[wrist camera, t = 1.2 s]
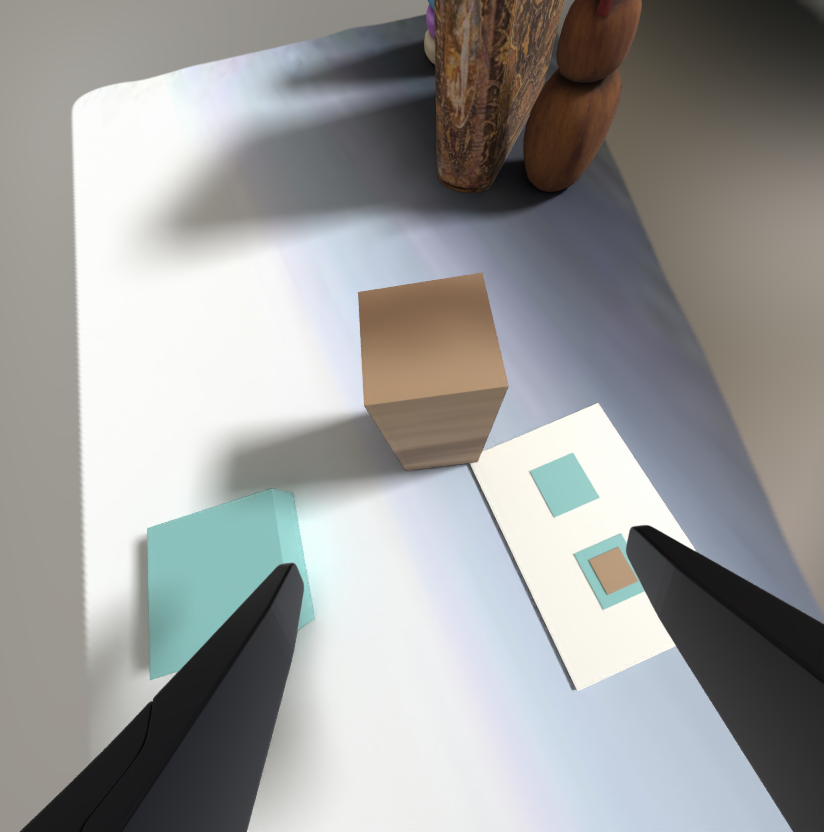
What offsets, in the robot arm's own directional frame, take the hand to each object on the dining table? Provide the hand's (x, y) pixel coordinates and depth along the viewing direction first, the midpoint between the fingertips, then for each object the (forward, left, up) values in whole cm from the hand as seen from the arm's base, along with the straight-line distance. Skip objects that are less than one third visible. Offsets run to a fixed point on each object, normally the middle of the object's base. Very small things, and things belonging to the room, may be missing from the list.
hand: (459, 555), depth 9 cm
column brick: (+7, -1, -13) cm, 15 cm away
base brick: (+2, +14, -13) cm, 19 cm away
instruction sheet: (-2, -8, -13) cm, 16 cm away
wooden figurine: (+27, -19, -13) cm, 36 cm away
